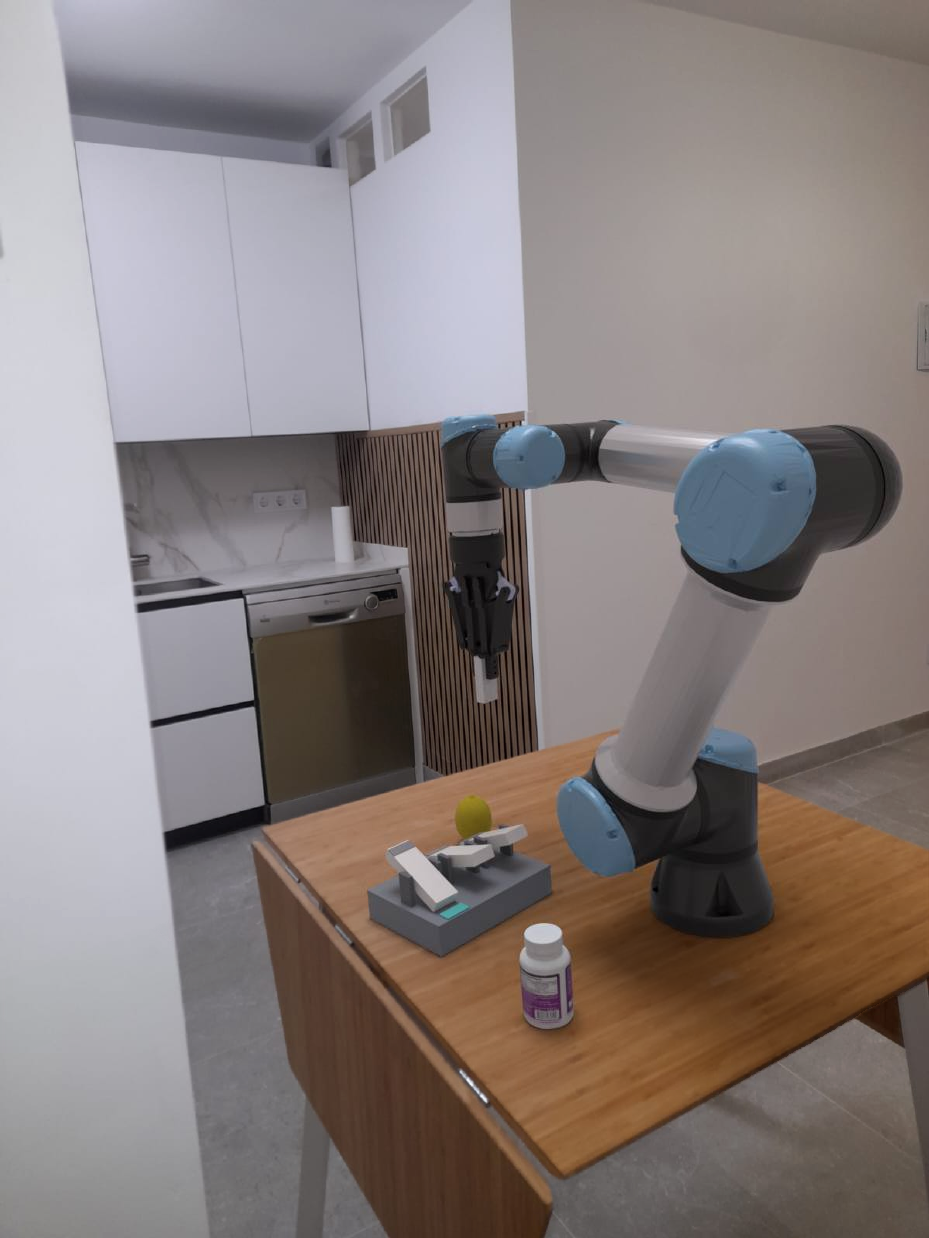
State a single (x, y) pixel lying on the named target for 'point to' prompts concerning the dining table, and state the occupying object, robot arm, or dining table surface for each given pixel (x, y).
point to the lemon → (472, 816)
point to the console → (462, 898)
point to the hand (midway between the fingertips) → (487, 700)
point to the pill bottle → (546, 977)
